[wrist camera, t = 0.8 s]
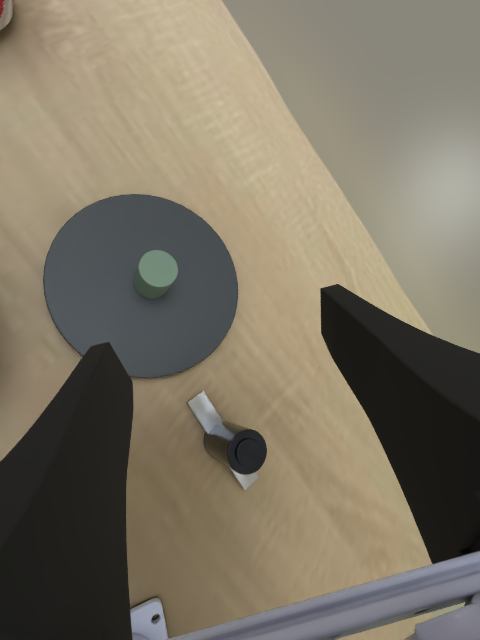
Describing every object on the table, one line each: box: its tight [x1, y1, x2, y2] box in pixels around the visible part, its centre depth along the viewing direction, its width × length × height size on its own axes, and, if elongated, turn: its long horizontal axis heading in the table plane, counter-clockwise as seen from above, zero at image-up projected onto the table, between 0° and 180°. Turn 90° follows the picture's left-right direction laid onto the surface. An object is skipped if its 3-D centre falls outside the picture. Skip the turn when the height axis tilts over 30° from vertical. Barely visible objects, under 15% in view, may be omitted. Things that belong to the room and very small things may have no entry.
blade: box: [187, 391, 267, 491], centre depth 22 cm, size 8×3×5 cm, turn 34°
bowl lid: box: [43, 194, 238, 378], centre depth 23 cm, size 13×13×4 cm
